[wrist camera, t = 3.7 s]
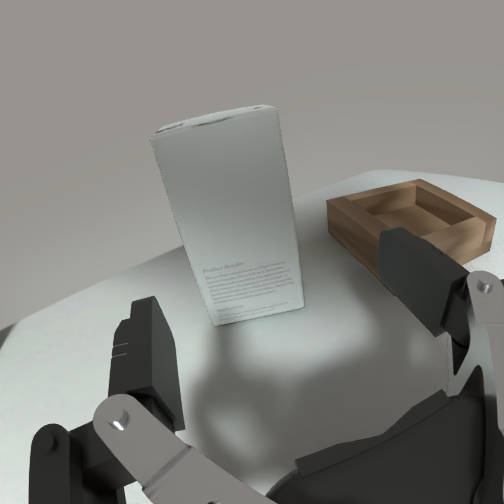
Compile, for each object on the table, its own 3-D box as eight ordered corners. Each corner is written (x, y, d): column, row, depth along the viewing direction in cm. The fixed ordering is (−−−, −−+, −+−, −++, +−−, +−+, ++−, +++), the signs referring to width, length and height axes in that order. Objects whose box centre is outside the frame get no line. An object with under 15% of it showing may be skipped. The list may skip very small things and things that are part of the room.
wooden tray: (395, 296, 18) (400, 257, 17) (328, 231, 27) (326, 200, 25) (489, 250, 20) (496, 218, 18) (418, 206, 28) (420, 178, 27)
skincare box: (291, 273, 22) (267, 101, 16) (307, 312, 19) (284, 105, 12) (209, 290, 22) (163, 123, 16) (209, 333, 18) (147, 133, 12)
